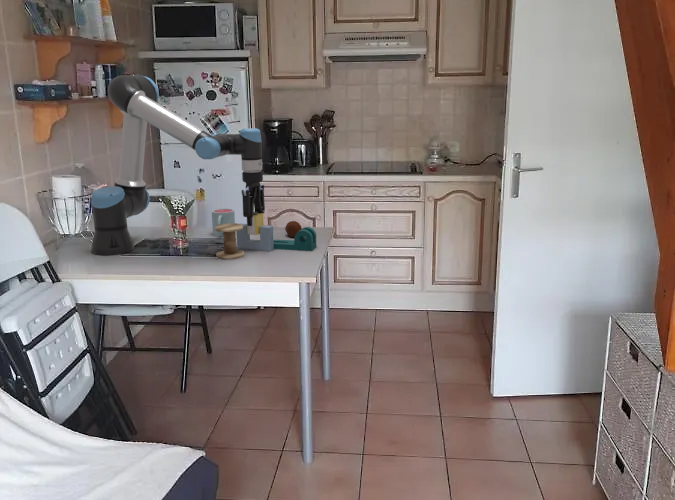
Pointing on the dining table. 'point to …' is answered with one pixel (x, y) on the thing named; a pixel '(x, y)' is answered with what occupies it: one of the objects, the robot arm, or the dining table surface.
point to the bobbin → (229, 241)
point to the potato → (292, 228)
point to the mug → (222, 219)
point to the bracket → (299, 241)
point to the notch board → (262, 244)
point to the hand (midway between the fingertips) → (255, 232)
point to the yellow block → (257, 222)
